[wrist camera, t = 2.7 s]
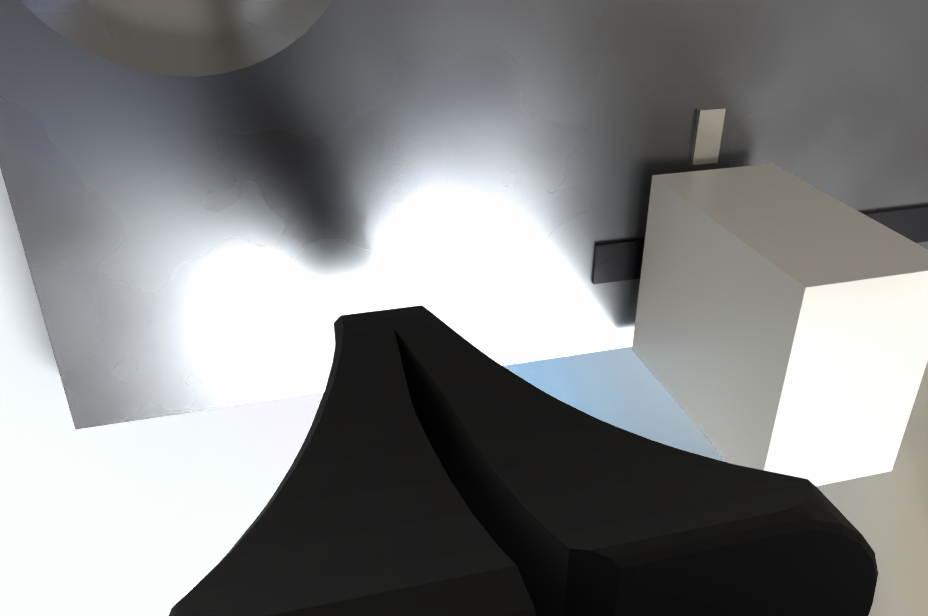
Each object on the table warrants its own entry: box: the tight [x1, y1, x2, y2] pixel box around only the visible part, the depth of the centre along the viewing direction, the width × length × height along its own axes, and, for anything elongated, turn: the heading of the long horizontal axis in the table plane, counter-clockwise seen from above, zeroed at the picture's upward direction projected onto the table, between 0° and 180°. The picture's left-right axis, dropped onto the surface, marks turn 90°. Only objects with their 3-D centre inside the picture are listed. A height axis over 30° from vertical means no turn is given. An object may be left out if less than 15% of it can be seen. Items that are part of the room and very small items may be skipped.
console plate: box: [0, 0, 928, 429], centre depth 14 cm, size 20×13×1 cm, turn 89°
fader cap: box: [632, 164, 928, 486], centre depth 14 cm, size 2×4×4 cm, turn 0°
